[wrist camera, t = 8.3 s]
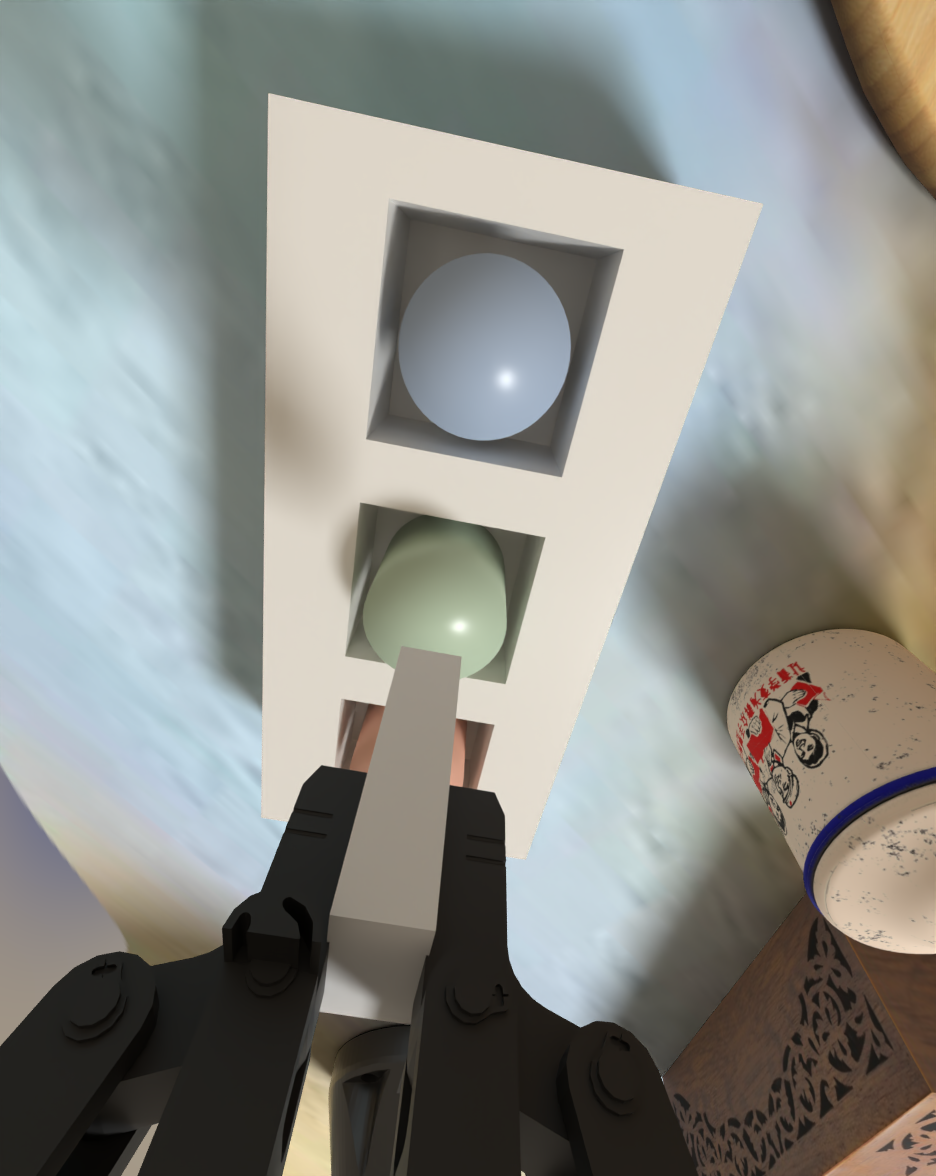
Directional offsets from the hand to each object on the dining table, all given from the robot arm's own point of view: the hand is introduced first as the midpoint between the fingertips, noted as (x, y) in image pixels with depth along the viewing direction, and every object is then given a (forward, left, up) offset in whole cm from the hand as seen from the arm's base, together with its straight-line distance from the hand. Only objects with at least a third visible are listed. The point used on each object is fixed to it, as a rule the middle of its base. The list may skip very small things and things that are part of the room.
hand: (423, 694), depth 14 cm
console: (0, 0, -10) cm, 10 cm away
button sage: (0, 0, -8) cm, 8 cm away
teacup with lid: (-6, -19, -11) cm, 23 cm away
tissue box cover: (-30, -32, -11) cm, 45 cm away
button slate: (+8, 0, -9) cm, 12 cm away
